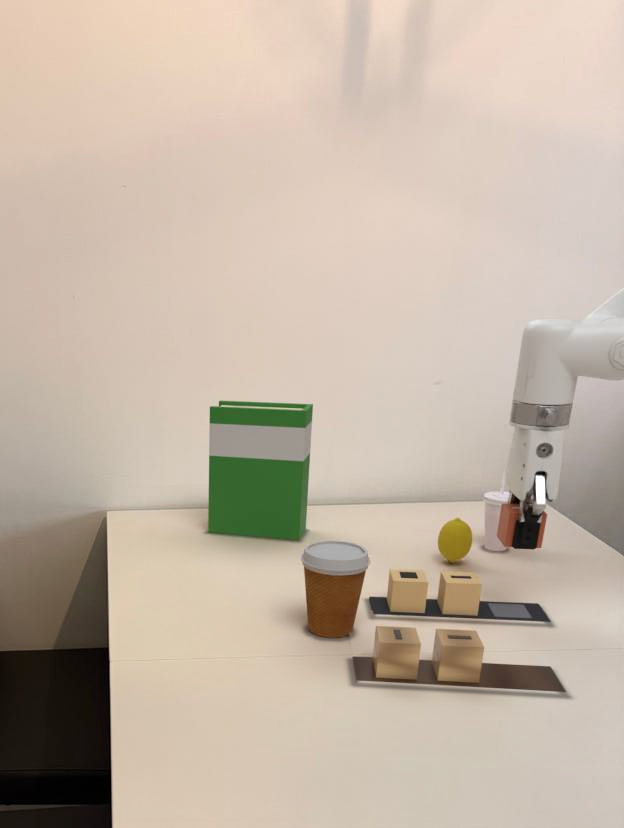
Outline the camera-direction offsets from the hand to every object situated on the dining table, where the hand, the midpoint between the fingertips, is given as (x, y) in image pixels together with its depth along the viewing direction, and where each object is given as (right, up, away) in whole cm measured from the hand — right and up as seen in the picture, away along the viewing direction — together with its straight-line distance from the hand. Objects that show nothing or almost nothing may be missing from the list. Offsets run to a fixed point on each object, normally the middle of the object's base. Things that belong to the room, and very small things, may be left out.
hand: (519, 540), depth 125 cm
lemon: (-1, -2, +25) cm, 25 cm away
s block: (0, 0, 0) cm, 0 cm away
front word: (-14, -18, -14) cm, 27 cm away
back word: (-7, -10, +5) cm, 13 cm away
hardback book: (-32, +5, +44) cm, 54 cm away
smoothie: (+10, +1, +32) cm, 33 cm away
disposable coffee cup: (-27, -13, 0) cm, 30 cm away
